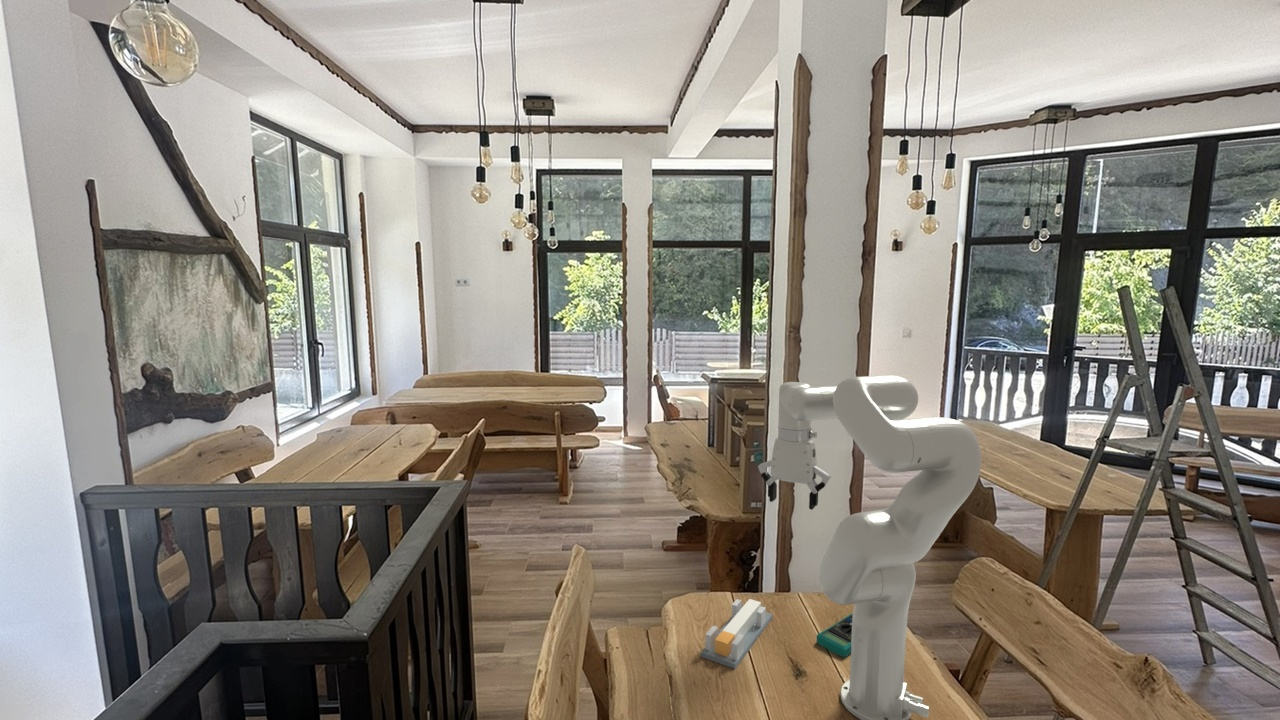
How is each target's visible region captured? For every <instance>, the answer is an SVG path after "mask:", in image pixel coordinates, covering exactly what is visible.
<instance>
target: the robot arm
mask: <svg viewBox="0 0 1280 720" xmlns="http://www.w3.org/2000/svg"><path fill="white" fill-rule="evenodd" d="M918 404H919V393H918V390H917V388H916V387H915V386H914V384H913V383H912V382H911V381H909V380H908V379H906V378H903V377H901V376H898V375H890V374H889V375H888V374H885V375H866V376H865V375H863V376H851V377H847V378H845V379H844V380H841V381H840V382H839V383H838V384H837V385H821V386H820V385H819V386H811V385H810V384H809V383H806V382H802V381H801V382H799V381H787V382H782V384H780V386H779V390H778V425H777V430H778V431H777V437H775V438H774V444H773V447H772V448H773V449H772V454H771V460H768V461H767V460H766V461H765V462H763V463H759V465H757V468H758V470H759V473H760V474H761V477H762V479H763V480H764V481H765V482H766V485H767V496H768V497H769V498H768V499H769V502H770V503H773V502H774V501H775V500H776V499H777V495H778V492H777V491H778V489H777V488H778V484H777V482H776V481H777V480H778V481H783V482H789V483H795V484H801V485H806V486H807V487H808V488H809V490H810V493H809V494H808V495H809V496H808V497H809V502H808V509H810V510H811V511H812V510H814V508H815V507H817V506H818V503H819V492H820V491H821V490H823V488H825V487H826V486H827V484H828V483H829V481H830V480H831V478H832V477H831V475H830V474H829V473H828V472H826V471H824V470H823V469H821V468H820V467H818V464H817V463H818V461H817V450H816V444H815V440H812V439H817V437H818V432H817V431H816V432H815V431H813V427H812V422H814V421H828V420H839V421H840V424H841V425H842V426H843V427H844V429H845V430H846V431H847V433H848V435H849V436H850V437H851V438H852V440H853V441H854V442H855V444H856V445H857V446H858V448H859V449H860V451H861V452H862V454H863V455H864V456H865V457H866V459H867V460H868V461H869V462H870V463H871V465H872V466H873V467H874V468H877V469H878V470H880V471H881V472H885V473H889V474H890V473H891V474H892V473H893V474H894V473H895V474H896V473H898V474H899V473H906V472H907V473H908V472H909V473H910V472H918V471H920V472H919V473H917V474H916V475H915V476H913V477H912V478H911V479H910V480H908V481H907V483H905V484H904V485H903V486H902V487H901V489H900V491H899V492H898V495H897V496H896V498H895V499H894V500H893V502H892V503H891V504H890V505H889V506H888V507H885V508H882V509H877V510H870V511H861V512H857V513H853V514H851V515H850V514H849V515H848V516H847V517H845V518H844V519H843V520H842V521H841V522H840V523H839V524H838V526H837V528H836V530H835V531H834V533H833V535H832V537H831V539H830V541H829V542H828V545H827V546H826V548H825V550H824V552H823V554H822V556H821V559H820V561H819V565H818V581H819V585H820V588H821V591H822V593H823V594H824V595H825V596H826V598H827V599H828V600H830V601H831V602H833V603H835V604H837V605H841V606H843V605H845V606H846V605H847V606H848V605H854V607H853V610H852V611H853V612H852V614H853V617H852V637H851V653H850V662H849V663H850V665H849V679H848V680H847V681H845V682H844V683H843V684H842V686H841V687H840V700H841V702H842V704H843V706H844V707H845V709H846V710H847V711H848V712H850V713H851V714H852V715H853V716H855V717H856V718H857V719H859V720H910V718H911V716H912V713H914V714H916V715H919V716H921V717H924V718H929V711H930V709H929V708H930V706H928V705H926V704H924V697H922V696H919V695H915V694H913V693H910V692H911V691H908V690H907V686H908V683H907V682H904V681H905V679H904V677H905V663H906V662H905V661H906V659H905V658H906V642H907V639H906V638H907V627H908V616H909V615H908V614H909V609H910V603H911V599H912V596H913V592H914V589H915V585H916V576H917V575H916V568H915V564H914V563H916V562H919V561H920V560H921V559H923V558H924V557H925V556H926V555H927V554H928V552H929V551H930V549H931V548H932V546H933V545H934V543H935V542H936V541H937V539H938V538H939V536H940V535H941V533H943V531H944V529H945V528H946V526H947V525H948V523H949V521H950V520H951V519H952V517H953V516H954V514H956V512H957V510H958V509H960V507H961V506H962V504H964V503H965V502H966V500H967V499H968V497H969V496H970V495H971V494H972V492H973V490H974V489H975V486H976V485H977V482H978V480H979V477H980V474H981V468H982V452H981V447H980V444H979V441H978V438H977V436H976V434H975V432H974V431H973V429H972V428H971V427H969V426H968V425H967V424H966V423H965V422H962V421H960V420H957V419H953V418H950V417H944V416H943V417H941V416H940V417H939V416H938V417H937V416H936V417H935V416H932V417H916V418H909V417H910V416H911V415H912V414H913V413H914V412H915V410H917V409H916V408H917V406H918ZM767 468H770V473H769V472H768V471H767ZM818 476H819V477H820V478H821V481H820V482H819V483H817V481H816V479H817V477H818Z"/></svg>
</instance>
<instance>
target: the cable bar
mask: <svg viewBox="0 0 1280 720" xmlns="http://www.w3.org/2000/svg"><path fill="white" fill-rule="evenodd" d="M743 605H744V606H743V607H742V608H741V609H740V611H739V612H738V613H737V614H736V615H735V617H734V618H733V619H732V620H731V621H730V622H729V624H728V625H727V626H726V627H725V628H724V629H723V631H722V632H721V633H720V634H719V635H718V636H717V638H716V639H715V653H718V654H721V655H723V656H726V657H728V656H729V654H730V653H731V652H732V642H733V641H734V640H735V639H736V637H737V636H738V635H739V634H741V635H745V634H746V633H747V631H748V630H749V629H750V627H751V626H752V625H753V623H754V622H755V621H756V615H757V611H758V609H759V608H760V607H761V606H762V601H757V600H755V599H751V598H749V599H748V600H747V601H746V602H745V603H744V604H743Z"/></svg>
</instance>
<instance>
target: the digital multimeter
mask: <svg viewBox="0 0 1280 720" xmlns="http://www.w3.org/2000/svg"><path fill="white" fill-rule="evenodd" d="M852 617H853V613H850V614H848V615H847V616H845V617H844V618H842V619H841V620H840V621H838V622H836V623H834V624H833V625H831V626H829V627H828V628H826V629H824V630H822V631H821V632H820V633H817V634H816V643H817V644H818V645H820V647H822V648H825V649H826V650H828V651H830V652H831V653H833V654H835V655H837V656H839V657H842V658H847V657H848V656H849V655H851V637H852Z"/></svg>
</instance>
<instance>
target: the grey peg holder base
mask: <svg viewBox="0 0 1280 720" xmlns="http://www.w3.org/2000/svg"><path fill="white" fill-rule="evenodd" d="M744 605H745V604H742V599H738V598H736V600H734V601H733V603H731V617H730V618H729V619H728V620H727V621H726V622H725V624H723V626H722V627H721V628H720V630H719V627H718V626H717V625H712V626H711V627H710V628H709V630H707V632H706V633H705V642H704V644H705V645H704V648H703V649H702V651H701V652H700V657H701V658H704V659H707V660H709V661H712V662H715V663H718V664H720V665H722V666H726V667H729V668H731V669H734V670H736V669H737V667H738V666H739V665H740V663H741V662H742V660H743V659H744V658H745V656H746V655H747V654H748V653H749V650H751V648H752V647H753V646H754V644H755V642H756V641H757V640H758V638H759V637H760V636H761V635H762V633H763V632H764V630H765V629H766V627H767V626H768V625H769V623H770V622H771V621H772V619H773V616H774V615H773V613H771V612H768V611H767V607H766V606H762V605H761V607H760V608H759V609H758V611H757V615H756V621H755V622H754V623H753V625H752V626H751V627H750V629H749V630H748V631H747V633H746V634H745V635H741V634H739V635H738V636H737V637H736V639H735V640H734V641H733V642H732V652H731V653H730V654H729V656H728V657H726V656H723V655H721V654H718V653H715V639H716V638H717V636H718V635H719V634H720V633H721V632H722V631H723V629H724V628H725V627H726V626H727V625H728V624H729V622H730V621H731V620H732V619H733V618H734V617H735V615H736V614H737V613H738V612H739V611H740V609H741V608H742V607H743V606H744Z"/></svg>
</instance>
